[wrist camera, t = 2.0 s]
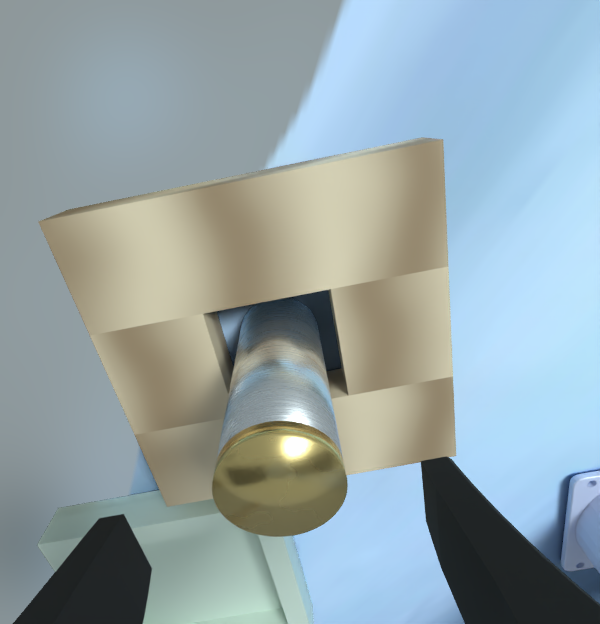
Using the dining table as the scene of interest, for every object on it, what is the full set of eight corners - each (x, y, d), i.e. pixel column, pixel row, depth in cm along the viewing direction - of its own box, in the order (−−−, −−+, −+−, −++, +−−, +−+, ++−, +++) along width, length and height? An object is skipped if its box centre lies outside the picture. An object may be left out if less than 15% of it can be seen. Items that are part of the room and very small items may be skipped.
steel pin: (310, 289, 18) (336, 425, 10) (323, 357, 20) (355, 524, 11) (232, 304, 18) (195, 450, 10) (250, 371, 20) (231, 546, 12)
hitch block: (422, 137, 16) (443, 139, 14) (439, 425, 22) (456, 455, 20) (67, 209, 16) (38, 221, 14) (177, 472, 22) (167, 506, 20)
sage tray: (273, 469, 22) (273, 503, 20) (312, 604, 27) (315, 642, 25) (58, 508, 23) (36, 545, 21) (134, 634, 28) (123, 674, 26)
